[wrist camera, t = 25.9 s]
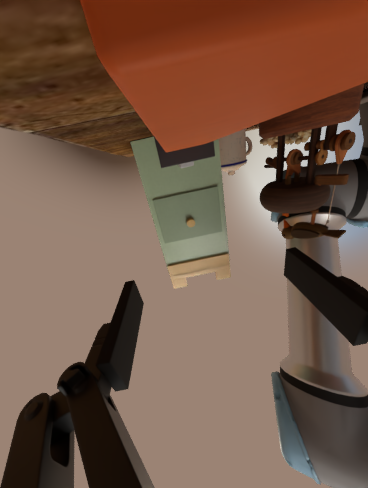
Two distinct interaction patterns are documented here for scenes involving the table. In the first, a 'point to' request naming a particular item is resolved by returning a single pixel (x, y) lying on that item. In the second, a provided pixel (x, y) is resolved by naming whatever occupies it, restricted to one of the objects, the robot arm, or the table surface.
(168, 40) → the bar
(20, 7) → the table surface
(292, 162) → the music box
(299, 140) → the mineral formation
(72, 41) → the table surface
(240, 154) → the teacup with lid
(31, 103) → the table surface
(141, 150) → the drawer stand
